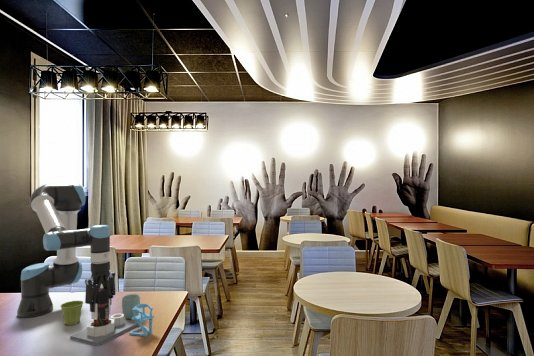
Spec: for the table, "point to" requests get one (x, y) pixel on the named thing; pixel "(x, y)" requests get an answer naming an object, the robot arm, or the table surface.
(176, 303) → the table surface
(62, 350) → the table surface
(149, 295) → the table surface
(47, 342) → the table surface
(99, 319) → the deodorant
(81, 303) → the plant pot
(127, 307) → the cup
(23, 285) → the robot arm
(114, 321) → the bore plate
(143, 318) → the chair
